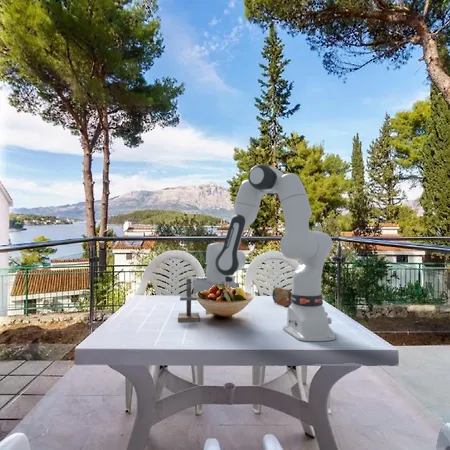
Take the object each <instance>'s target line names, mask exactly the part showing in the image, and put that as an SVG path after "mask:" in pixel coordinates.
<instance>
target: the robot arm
mask: <svg viewBox="0 0 450 450" xmlns="http://www.w3.org/2000/svg"><path fill="white" fill-rule="evenodd" d="M307 194H308V193H307V191H306V189H305V186H304V184H303V182H302V180H301V178H300V177H299V175H298V174H296V173H294V172H293V173H292V172H289V173H285V172H284V171H282V170H279V169H278V168H276V167H274V166H271V165H267V164H256V165H254V166H252V167H251V168H250V170H249V172H248V177H247V179H245V180H243V181H242V182H241V183H240V186H239V188H238V191H237V194H236V197H235V201H234V206H233V210H232V215H231V220H230V223H229V227H228V230H227V233H226V237H225V240H224V242H223V241H217V242H213V243H212V242H211V243H209V244H208V245H207V247H206V251H205V263H206V269H205V277H197V276H196V278H194V279H192V286H193V294H196V293H197V292H199V291H204V290H209V289H210V288H211V287H212V286H213V285H216V284H227V285H229V286H230V287H232V288H236V289H237V290H238V287H237V283H236V282H235V280H236V278H235V276H234V275H233V274H235V273H236V272H238V271H240V270H241V269H242V268H244V267H245V266H246V263H247V257H246V255H245V253H244V252H243V251H241V250H239V247H240V244H241V241H242V237H243V235H244V233H245V231H246V229H247V228H248V227H250V226H251V225H252V224H253V223H254V222H255V220H256V219H257V216H258V213H259V212H260V207H261V206H260V205H261V201H262V198H263V197H264V196H265V195H267V196H273V195H275V196H276V195H278V199H279V203H280V206H281V209H282V213H283V218H284V222H285V223H284V224H285V225H284V226H285V227H284V228H285V229H284V233H283V236H282V237H281V240H280V243H279V247H280V248H279V249H280V252H281V254H282V255H283V256H284V257H285V258H287V259H291V260H295V261H299V263H298V265H297V267H296V268H295V269H294V271H293V272H292V273H293V274H292V291H291V293H292V296H291V302H292V304H291V305H290V306H288V307H287V314H286V325H283V327H282V330H283V331H285V332H286V333H288V334H289V335H291V336H292V337H293V338H295V339H297V340H298V341H304V342H328V341H334V340H336V335H335V334H334V332H333V330H332V327H331V326H330V325H332V323H333V322H332V317H328V312H327V311H325V310H326V309H325V307H324V306H323V305H324V301H323V300H324V299H323V293H322V274H323V270H324V265H325V261H326V259H327V256H328V255H329V254H330V253H331V251H332V250H333V240H332V237H331V236H330V235H329V234H328V233H326V232H323V231H321V230H320V231H319V230H310V219H311V218H312V215H313V212H312V208H311V204H310V201H309V197H308V195H307Z"/></svg>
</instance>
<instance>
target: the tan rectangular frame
mask: <svg viewBox="0 0 450 450" xmlns="http://www.w3.org/2000/svg"><path fill="white" fill-rule="evenodd" d="M205 315H206V316H207V315H213V314H212V313H211V312H209V311H208V310H206V309H205Z"/></svg>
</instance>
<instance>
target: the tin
mask: <svg viewBox="0 0 450 450" xmlns="http://www.w3.org/2000/svg"><path fill="white" fill-rule="evenodd" d="M271 294H272V300H273V302H274V304H276V303H277V305H279V306H282V307H290V306H291V304H292V302H291V296H292V291H291V290H289V289H287V288H284V287H274V289H273V290H272V293H271Z"/></svg>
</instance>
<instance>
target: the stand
mask: <svg viewBox="0 0 450 450" xmlns="http://www.w3.org/2000/svg"><path fill="white" fill-rule="evenodd" d="M185 289H186V293H185V294H182V293H181V294H180V297H179V301H180V302H181V301H185V302H186V312H179V313H178V316H177V322H179V323H180V322H181V323H182V322H200V312H192V301H198V298H197V296H196V295H195V294H194V293H192V278H186V288H185Z"/></svg>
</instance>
